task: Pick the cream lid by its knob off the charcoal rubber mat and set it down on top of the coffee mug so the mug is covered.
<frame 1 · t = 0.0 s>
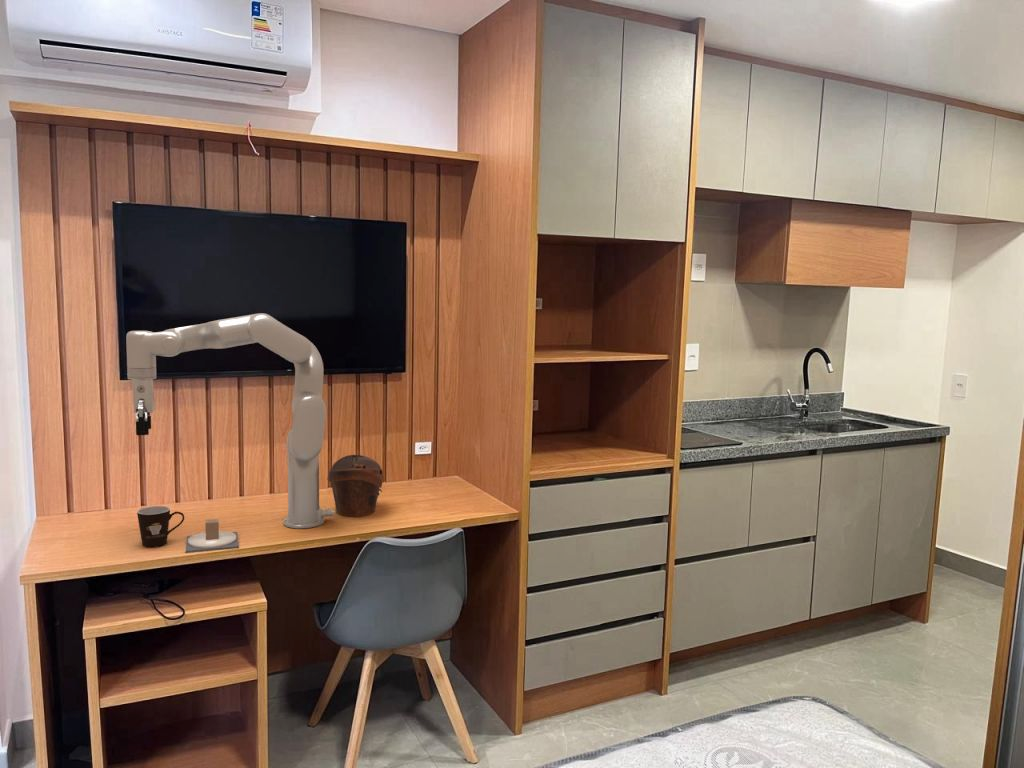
hand: (143, 432, 225), 31 cm above the table, tool pointing down, fingers open, 9 cm apart
lid: (212, 531, 223), on the mat
coffee mug: (160, 544, 221), on the table
brown tapered piece: (356, 512, 258), on the table
mat: (212, 542, 224), on the table
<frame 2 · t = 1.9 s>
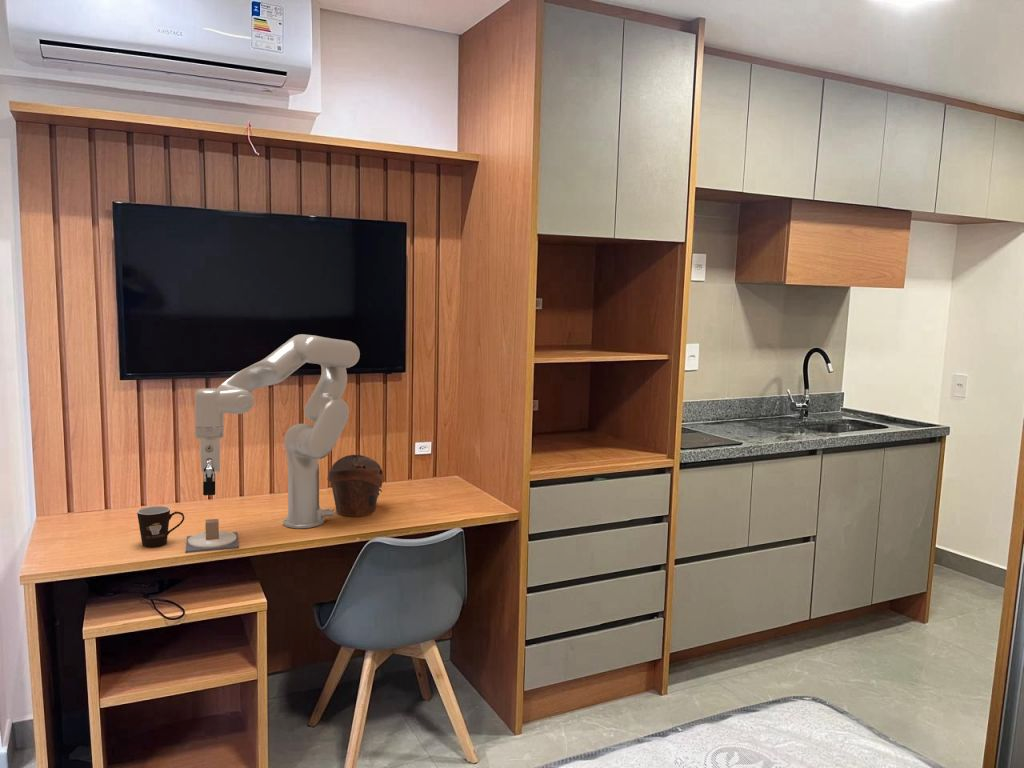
hand: (209, 490, 222), 15 cm above the table, tool pointing down, fingers open, 9 cm apart
nothing on the table moved.
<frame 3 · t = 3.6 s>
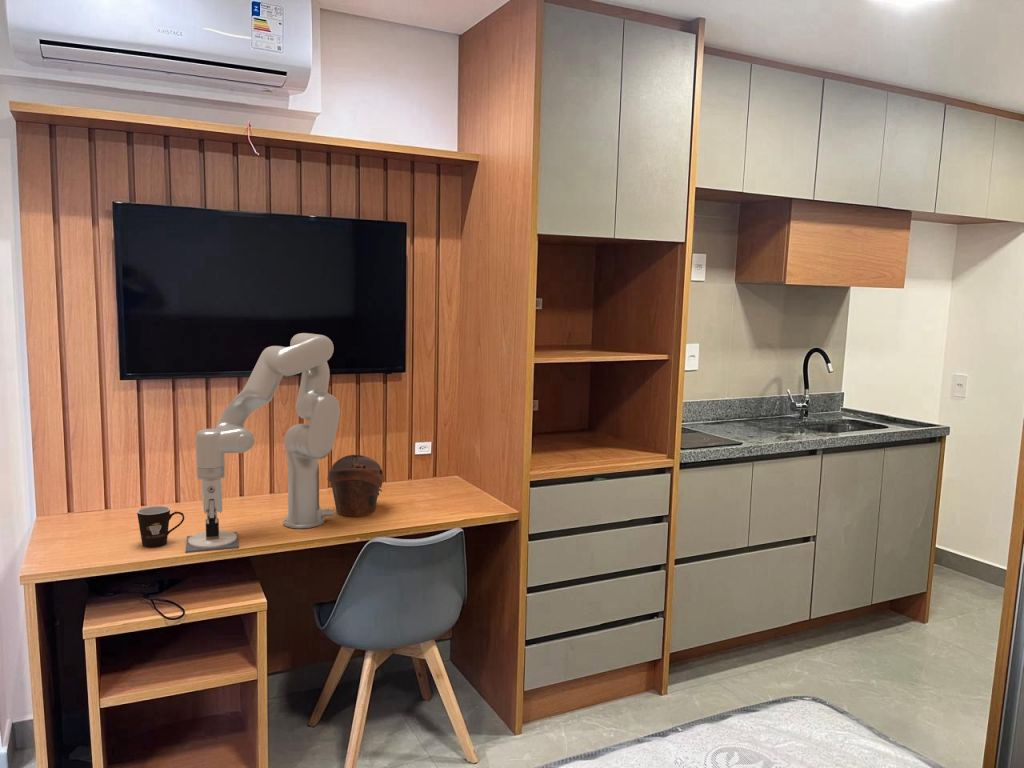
hand: (212, 533, 223), 3 cm above the table, tool pointing down, fingers closed on lid, 3 cm apart
lid: (212, 530, 223), resting on mat, touching gripper
everything else where it was.
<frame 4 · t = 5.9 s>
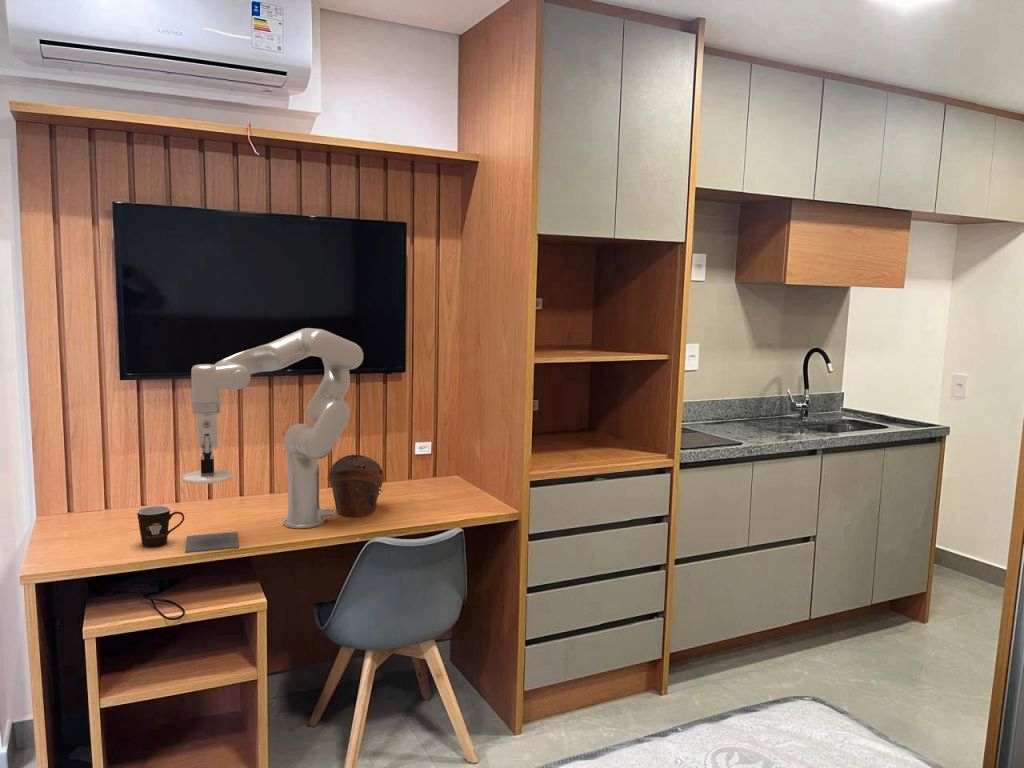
hand: (207, 470, 221), 21 cm above the table, tool pointing down, fingers closed on lid, 3 cm apart
lid: (207, 468, 221), point 22 cm above the table, touching gripper
everything else where it was.
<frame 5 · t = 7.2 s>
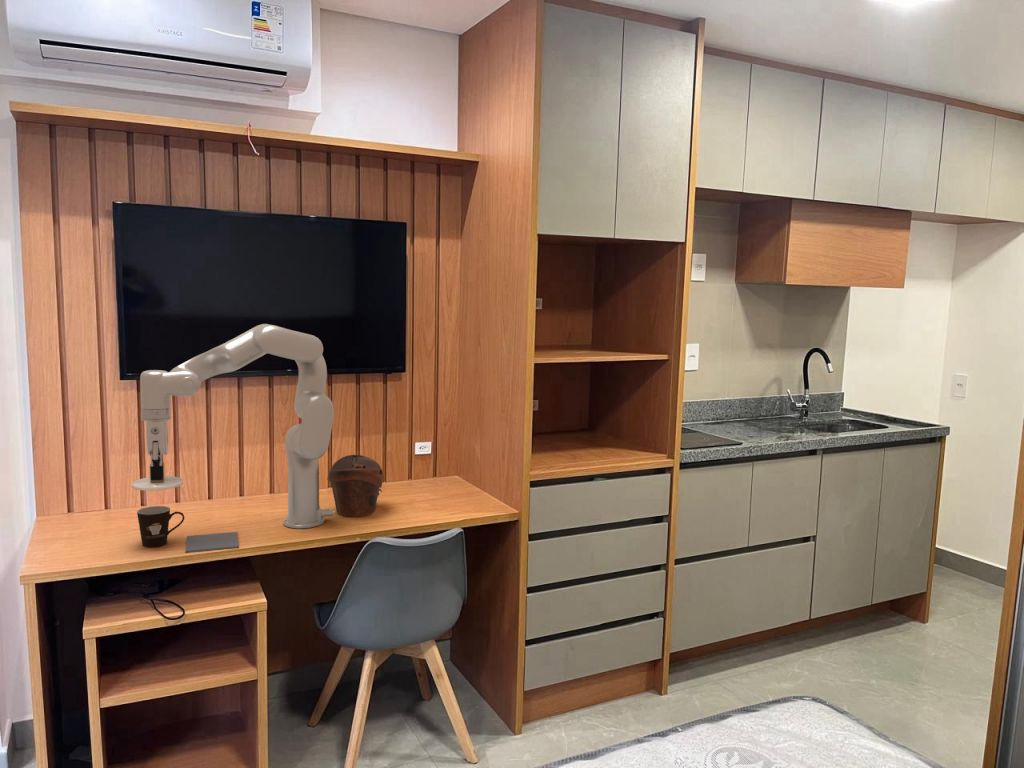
hand: (157, 477, 219), 20 cm above the table, tool pointing down, fingers closed on lid, 3 cm apart
lid: (157, 474, 219), point 20 cm above the table, touching gripper
everything else where it was.
when the fingers open (14 cm above the table, at t = 8.4 s): lid drops 2 cm, resting on coffee mug.
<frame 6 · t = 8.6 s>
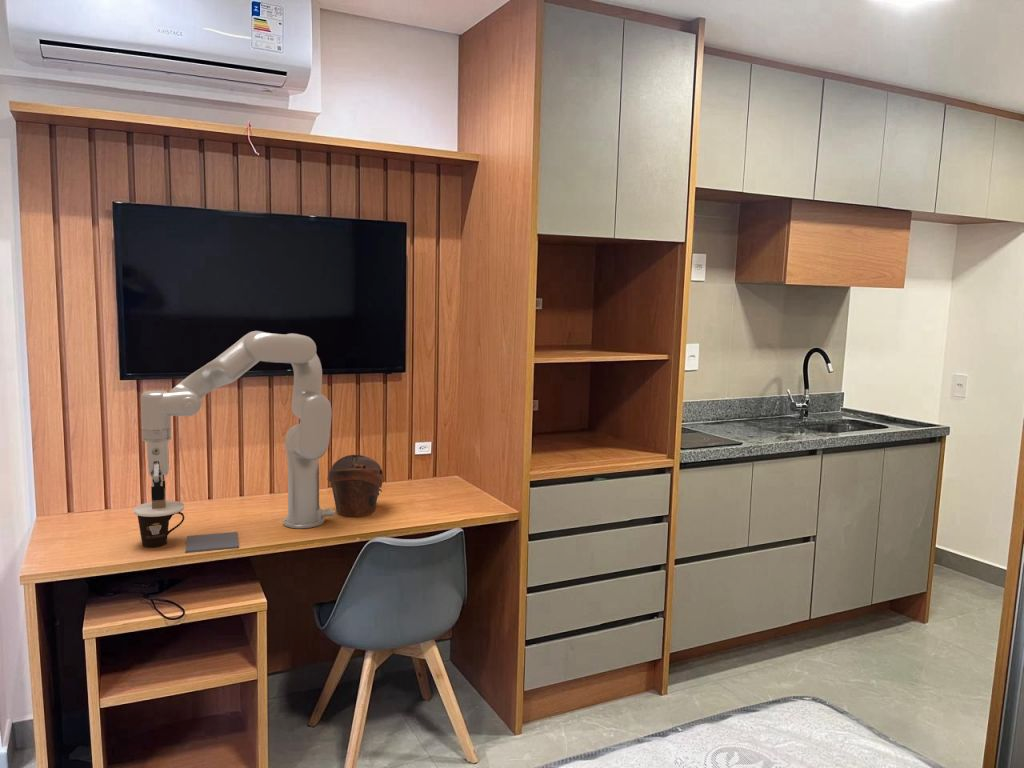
hand: (158, 496, 220), 14 cm above the table, tool pointing down, fingers open, 5 cm apart
lid: (159, 499, 220), point 13 cm above the table, touching coffee mug
coffee mug: (160, 544, 221), on the table, touching lid
everything else where it was.
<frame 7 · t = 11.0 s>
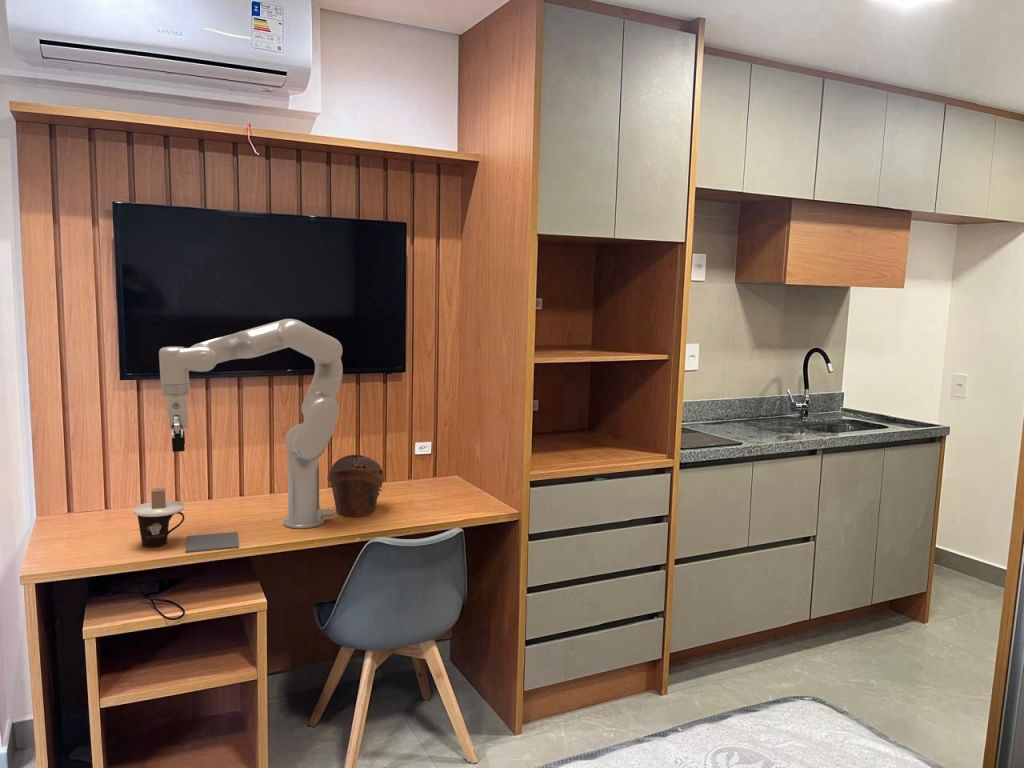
hand: (178, 447, 224), 27 cm above the table, tool pointing down, fingers open, 9 cm apart
nothing on the table moved.
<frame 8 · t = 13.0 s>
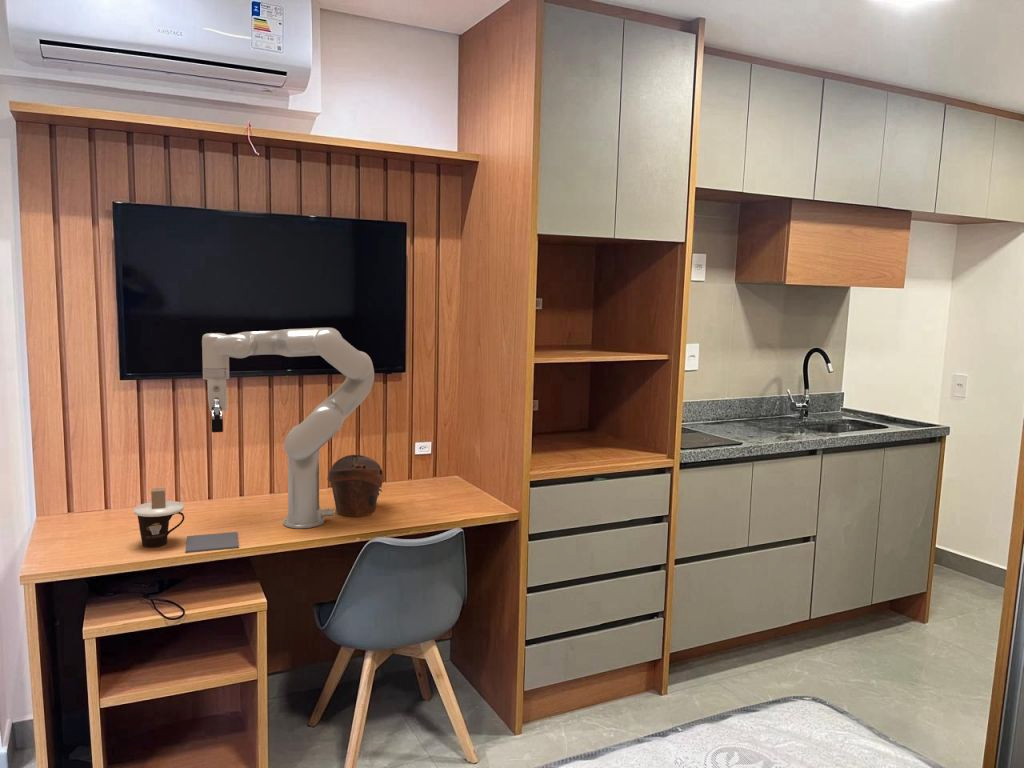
hand: (217, 429, 237), 30 cm above the table, tool pointing down, fingers open, 9 cm apart
nothing on the table moved.
at the end: lid 0.0 cm off-centre on the coffee mug, point 13.2 cm above the coffee mug's base; lid tilted 0°; lid touching coffee mug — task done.
